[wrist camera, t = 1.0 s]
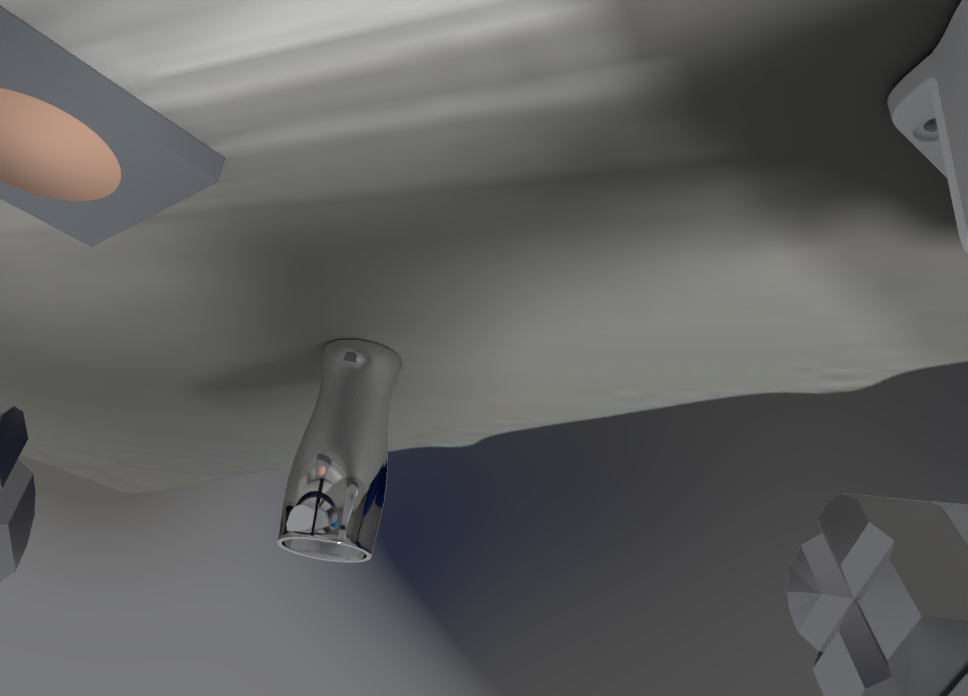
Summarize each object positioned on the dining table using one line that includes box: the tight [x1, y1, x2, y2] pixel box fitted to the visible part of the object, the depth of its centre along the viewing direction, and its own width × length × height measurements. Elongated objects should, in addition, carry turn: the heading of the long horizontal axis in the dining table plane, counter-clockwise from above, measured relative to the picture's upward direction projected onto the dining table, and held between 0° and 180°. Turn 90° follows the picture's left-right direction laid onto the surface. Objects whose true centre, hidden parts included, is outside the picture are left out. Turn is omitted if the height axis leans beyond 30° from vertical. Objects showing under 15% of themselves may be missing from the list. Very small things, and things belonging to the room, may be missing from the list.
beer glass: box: [277, 339, 402, 562], centre depth 64 cm, size 7×7×15 cm
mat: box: [0, 6, 225, 247], centre depth 45 cm, size 14×13×2 cm
